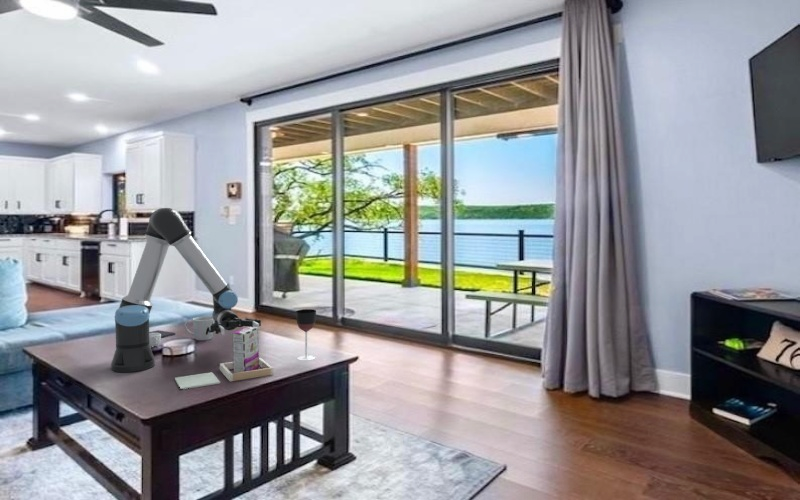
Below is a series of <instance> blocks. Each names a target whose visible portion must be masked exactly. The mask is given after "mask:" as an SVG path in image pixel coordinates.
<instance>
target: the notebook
mask: <svg viewBox="0 0 800 500" xmlns="http://www.w3.org/2000/svg"><path fill="white" fill-rule="evenodd" d="M149 333H160V334H161V339H163V338H168V337H172V336H176V332H174V331H173V332H172V331H166V330H165V331H164V330H161V329H160V330H159V329H158V330H157V329H156V330H152V331H149Z"/></svg>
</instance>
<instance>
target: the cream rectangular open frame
mask: <svg viewBox="0 0 800 500" xmlns="http://www.w3.org/2000/svg"><path fill="white" fill-rule="evenodd" d="M259 367H261V368H260V369H259V368H258V369H257V370H252V371H245V372H239V373H234V372H232V371H230V370H234V361H228V362H221V363H219V371H220V372H221V373H222V374H223V376H224V377H225V378H226V379H227V380H228V381H229V382H234V381H235V382H236V381H241V380H248V379H254V378H260V377H266V376H274V374H275V373H274V367H273V366H272V365H270V364H269V363H268V362H267V361H266V360H264V359H263V358H262V357H259Z"/></svg>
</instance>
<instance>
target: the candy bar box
mask: <svg viewBox="0 0 800 500" xmlns="http://www.w3.org/2000/svg"><path fill="white" fill-rule="evenodd" d="M232 350H233V351H232V353H233V354H232V356H233V359H232V360H233V362H234V369H233V373H239V372H245V371H252V370H258V369H259V368H260V365H259V358H260V356H259V355H260V353H259V331H258V327H247V326H245V327H243V328H242V329H240V330H237V331H235V332H233V333H232Z"/></svg>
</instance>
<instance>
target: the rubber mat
mask: <svg viewBox="0 0 800 500" xmlns="http://www.w3.org/2000/svg"><path fill="white" fill-rule="evenodd" d="M174 380H175V382H176V384H177V386H178V387H180V388H179V389H183V390H189V389H195V388H201V387H207V386H213V385H219V384H221V380H219V379H218V377H217V376H216V374H214V373H213V372H212V371H211V372H205V373H197V374H191V375H184V376H177V377H174ZM188 388H189V389H188Z"/></svg>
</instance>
